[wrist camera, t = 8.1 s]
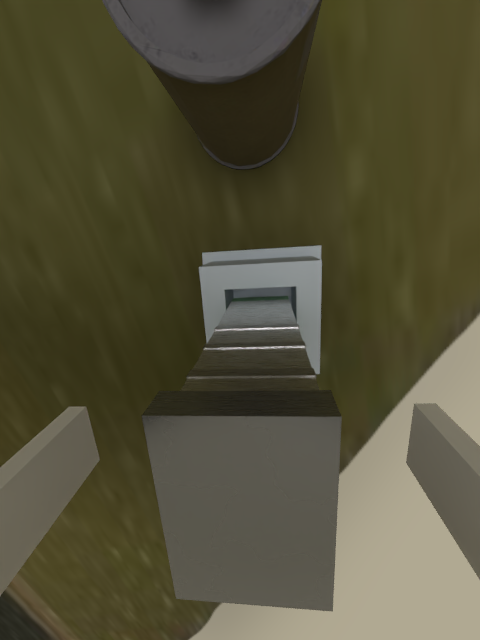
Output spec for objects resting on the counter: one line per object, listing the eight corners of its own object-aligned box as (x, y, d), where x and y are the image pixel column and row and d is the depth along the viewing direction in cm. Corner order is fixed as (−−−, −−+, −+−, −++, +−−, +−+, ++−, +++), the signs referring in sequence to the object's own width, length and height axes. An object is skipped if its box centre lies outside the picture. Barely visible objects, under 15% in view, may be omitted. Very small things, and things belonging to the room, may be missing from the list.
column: (237, 357, 27) (174, 598, 9) (231, 287, 25) (139, 415, 7) (289, 356, 27) (334, 611, 9) (288, 284, 25) (343, 417, 7)
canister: (296, 166, 28) (356, 21, 9) (197, 173, 29) (67, 55, 10) (299, 33, 25) (395, -590, 6) (187, 46, 26) (-21, -450, 7)
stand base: (213, 357, 35) (197, 393, 27) (203, 252, 32) (181, 257, 24) (318, 355, 34) (334, 392, 26) (319, 245, 30) (339, 248, 22)
